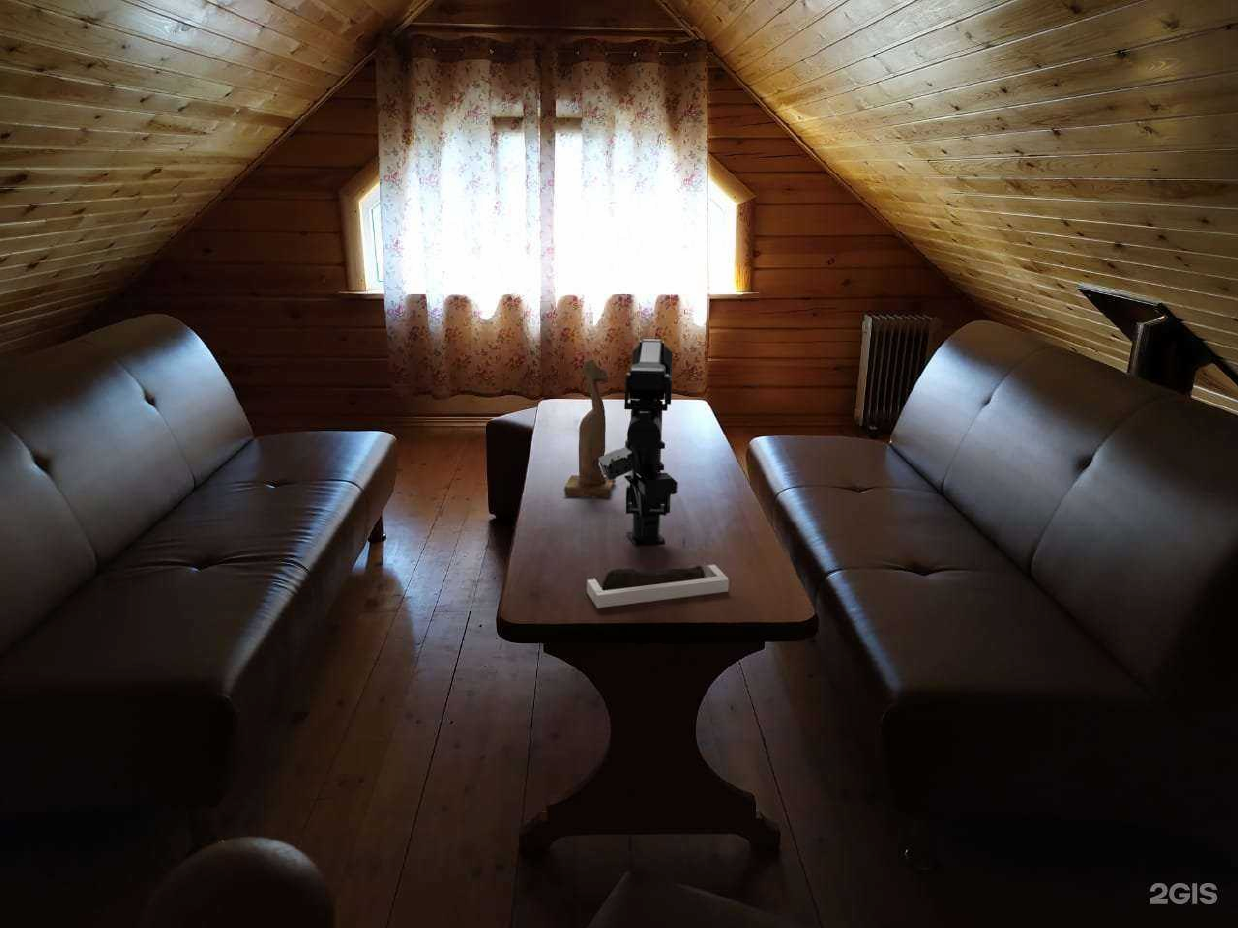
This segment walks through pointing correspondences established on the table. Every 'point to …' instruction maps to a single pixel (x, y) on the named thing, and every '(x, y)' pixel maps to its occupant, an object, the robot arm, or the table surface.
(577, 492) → the bird sculpture
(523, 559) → the table surface
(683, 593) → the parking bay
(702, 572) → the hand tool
